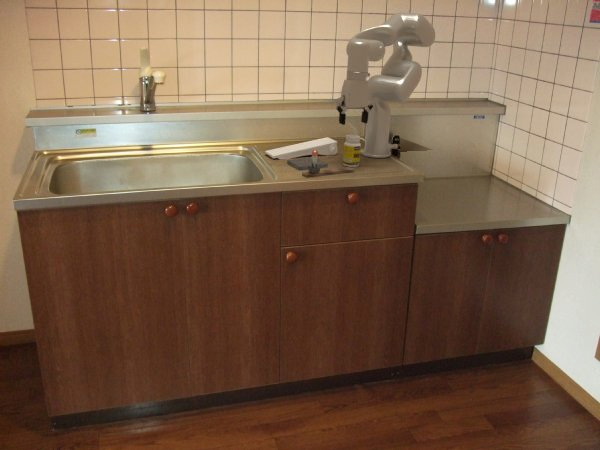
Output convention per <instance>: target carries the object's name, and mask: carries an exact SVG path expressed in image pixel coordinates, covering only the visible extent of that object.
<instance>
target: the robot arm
mask: <svg viewBox="0 0 600 450" xmlns="http://www.w3.org/2000/svg"><path fill="white" fill-rule="evenodd" d="M435 40H436V30H435V28H434V26H433V25H432V24H431V23H430V21H429V20H428V18H426V17H425V16H424V15H423V14H420V13H414V12H413V13H412V12H396V13H394V14H392V15H391V16H390V17H388V19H387V20H385V21H384V22H382V23H381V24H380V25H377V26H373V27H371V28H367V29H365V30H364V29H363V30H361V31H359V32H357V33H356V34H355V35H353V36H352V37H351V38H350V40H349V41H348V42H347V44H346V49H345V51H346V55H347V67H346V79H343V84H342V88H341V93H340V97H338V98H337V99H335V100H333V104H334V107H335V110H336V111H337V113H338V114H339V115H338V122H339V125H342V126H345V125H346V120H347V119H346V117H347V115H346V112H347V111H348V109H362V112H361V119H360V120H361V121H360V122H361V123H363V124H365V137H364V147H363V148H361V150H360V155H361V156H364V157H366V158H367V157H368V158H373V159H374V158H376V159H383V158H389V157H391V156H392V151H391V150H395V149H396V150H397V149H398V147H399V145H398V144H397V143H393V144H392V143H389V140H390V130H391V126H390V125H391V120H392V119H391V118H392V111H391V107H390V105H389V102H392V103H402V104H403V103H406V102H407V101H408V99H410V97H411V96H412V94H413V93H414V91H415V89H416V88H417V86H418V85H419V83H420V81H421V79H422V75H423V69H422V65H421V63H419V62H418V61H416V60H413V55H412V53H411V51H410V49H409V48H408V47H419V48H429V47H431V46H432V45H433V44H434V43H435ZM390 46H392V47H393V49H392V51H393V52H392V54H391V56H390V57H389V58H388V59H387V60H386V62H385V63H384V65H383V66H382V68H381V72H380V74H376V75H375V74H374V75H372V76H371V74H370V72H369V64H370V63H369V62H375V63H376V62H380V61H381V60H382V59H384V57H385V55H386V47H390ZM368 77H369V78H368Z"/></svg>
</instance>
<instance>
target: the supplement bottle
mask: <svg viewBox="0 0 600 450" xmlns="http://www.w3.org/2000/svg"><path fill="white" fill-rule="evenodd" d="M361 149H362V144H361V136H360V135H358V134H353V133H352V134H351V133H349V134H346V135H345V142H344V143H343V156H342V165H343V166H345V167H350V168H356V167H359V165H360V160H361V154H360V150H361Z"/></svg>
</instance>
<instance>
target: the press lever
mask: <svg viewBox="0 0 600 450" xmlns="http://www.w3.org/2000/svg"><path fill="white" fill-rule="evenodd" d="M318 156H319V154H318V151H316V150H313V151H312V155H311V158H312V165H310V166H309V168H308V169H307V172H311V173H316V172H320V171H321V168H320V166H318V165H317V159H318Z"/></svg>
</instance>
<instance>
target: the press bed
mask: <svg viewBox="0 0 600 450" xmlns="http://www.w3.org/2000/svg"><path fill="white" fill-rule="evenodd" d="M286 160H287V161H286V162H287V164H288V165H290V166H291V167H293V168H294V169H296V170H298V171H305V170H308V168H309V166H310V165H312V157H305V158H296V159H295V158H293V159H286ZM317 165H318V166H320V169H322V168H328V166H329V164H328V163H327V162H325V161H323V160H322V159H318V158H317Z"/></svg>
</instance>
